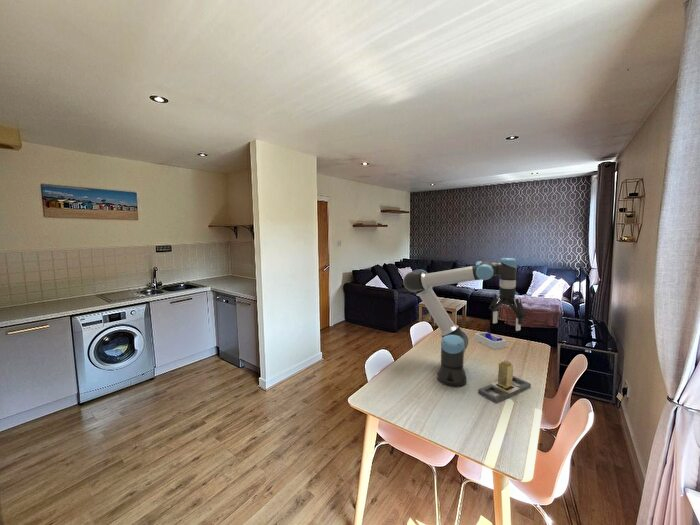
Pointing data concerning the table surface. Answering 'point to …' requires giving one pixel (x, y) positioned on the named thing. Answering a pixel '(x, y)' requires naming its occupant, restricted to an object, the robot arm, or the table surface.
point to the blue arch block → (491, 338)
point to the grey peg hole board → (502, 392)
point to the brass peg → (505, 375)
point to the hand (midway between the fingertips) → (506, 326)
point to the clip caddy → (490, 341)
